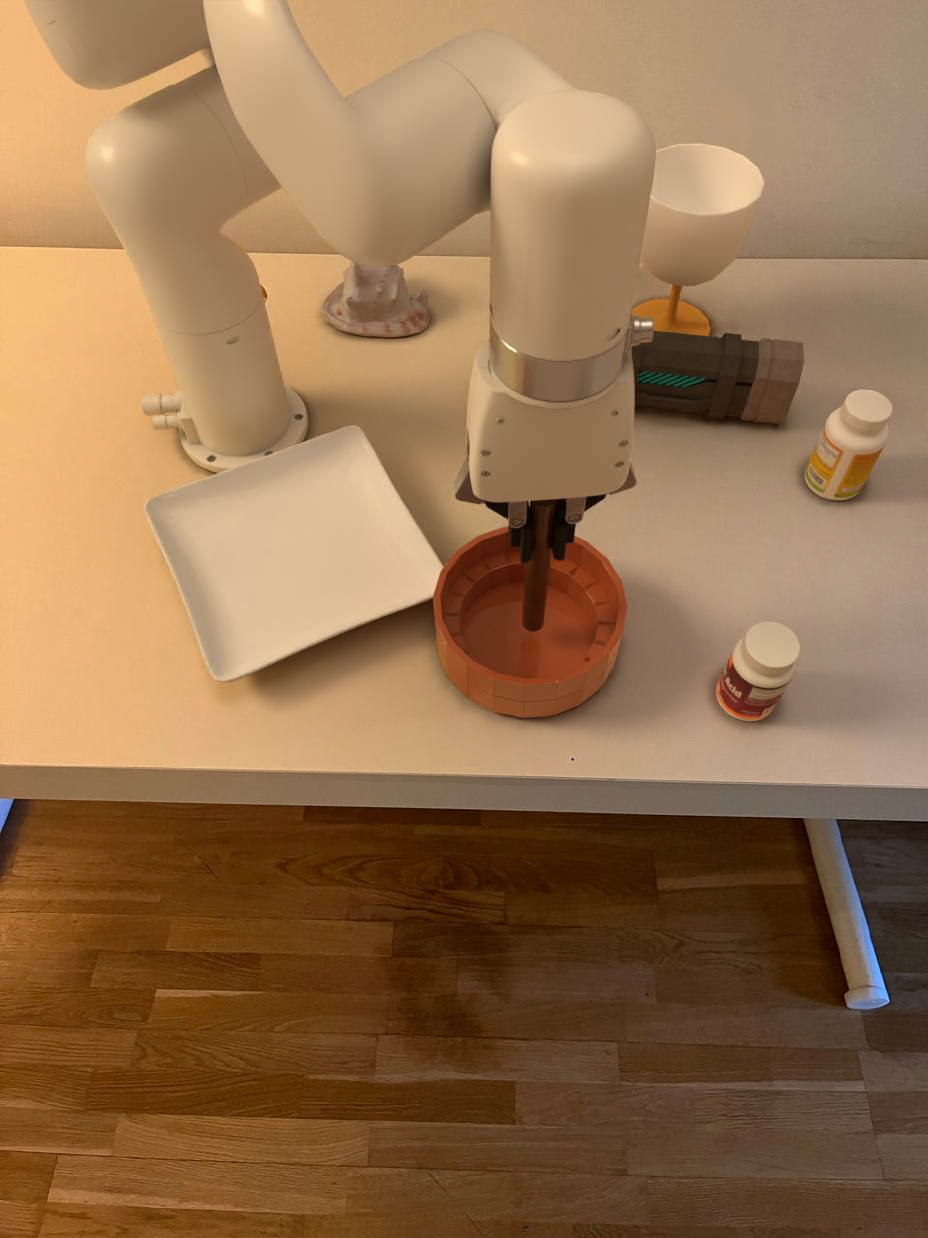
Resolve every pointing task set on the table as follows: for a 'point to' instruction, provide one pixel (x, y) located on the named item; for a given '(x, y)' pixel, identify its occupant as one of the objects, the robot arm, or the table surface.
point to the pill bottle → (758, 671)
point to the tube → (718, 375)
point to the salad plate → (291, 551)
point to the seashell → (376, 303)
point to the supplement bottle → (849, 445)
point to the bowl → (508, 653)
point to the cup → (695, 226)
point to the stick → (538, 564)
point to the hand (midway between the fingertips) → (539, 545)
